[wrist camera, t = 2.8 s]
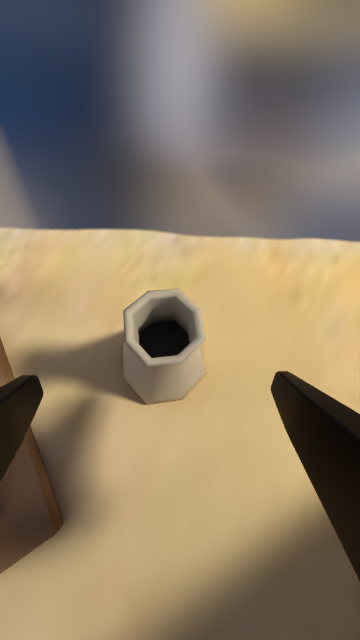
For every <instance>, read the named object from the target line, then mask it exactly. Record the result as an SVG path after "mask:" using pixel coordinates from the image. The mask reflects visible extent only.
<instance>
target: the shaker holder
mask: <svg viewBox="0 0 360 640" xmlns="http://www.w3.org/2000/svg"><path fill="white" fill-rule="evenodd" d="M12 380H14V376H13V373H12V371H11V368H10V365H9V362H8V359H7V356H6V353H5V350H4V347H3V344H2V341H1V338H0V387H1V386H3V385H5V384H7V383H9V382H10V381H12ZM63 523H64V522H63V519H62V516H61V513H60V510H59V507H58V505H57V502H56V499H55V496H54V493H53V490H52V487H51V484H50V481H49V478H48V475H47V473H46V470H45V467H44V464H43V461H42V458H41V455H40V452H39V449H38V446H37V443H36V440H35V438H34V435H33V432H32V429H31V426H30V427H29V429H28V432H27V434H26V436H25V438H24V440H23V442H22V444H21V446H20V448H19V450H18V451H17V453H16V455H15V457H14V459H13V460H12V462H11V464H10V466H9V468H8V469H7V471H6V473H5V475H4V477H3V478H2V480H1V482H0V574H1V573H2V572H3V571H5V570H6V569H8V568H9V567H10V566H12V565H13V564H15V563H16V562H17V561H19V560H20V559H21V558H23V557H24V556H26V555H27V554H28V553H30V552H31V551H33V550H34V549H35V548H37V547H38V546H40V545H41V544H42V543H44V542H45V541H47V540H48V539H49V538H51V537H52V536H53V535H55V534H56V533H57V532H58V530H59V529H60V527H61V526H62V525H63Z"/></svg>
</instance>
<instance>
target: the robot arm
mask: <svg viewBox="0 0 360 640" xmlns="http://www.w3.org/2000/svg"><path fill="white" fill-rule="evenodd" d="M271 392H272V395H273V398H274V401H275V403H276V406H277V409H278V411H279V414H280V416H281V419H282V422H283V424H284V427H285V429H286V432H287V434H288V436H289V438H290V440H291V442H292V444H293V446H294V448H295V450H296V452H297V454H298V456H299V458H300V460H301V462H302V464H303V466H304V469H305V471H306V473H307V475H308V477H309V479H310V481H311V483H312V485H313V487H314V489H315V491H316V493H317V495H318V497H319V499H320V501H321V503H322V505H323V507H324V509H325V511H326V513H327V515H328V517H329V519H330V521H331V524H332V526H333V528H334V530H335V532H336V534H337V536H338V538H339V540H340V542H341V544H342V546H343V548H344V550H345V552H346V554H347V556H348V558H349V560H350V562H351V564H352V566H353V568H354V570H355V572H356V574H357V576H358V578H359V581H360V414H359V413H357V412H355V411H354V410H352V409H350V408H349V407H347V406H345V405H344V404H342V403H340V402H339V401H337V400H335V399H334V398H332V397H330V396H329V395H327V394H325V393H323V392H322V391H320V390H318V389H317V388H315V387H313V386H312V385H310V384H308V383H307V382H305V381H303V380H302V379H300V378H298V377H297V376H295V375H293V374H291V373H290V372H288V371H278V372H276V374H275V376H274V379H273V382H272V385H271ZM42 397H43V389H42V387H41V384H40V381H39V379H38V377H37V376H36V375H22V376H20V377H18V378H16V379H14V380H12V381H10V382H9V383H7V384H5V385H3V386H1V387H0V482H1V480H2V478H3V477H4V475H5V473H6V471H7V469H8V468H9V466H10V464H11V462H12V460H13V459H14V457H15V455H16V453H17V451H18V450H19V448H20V446H21V444H22V442H23V440H24V438H25V436H26V434H27V432H28V429H29V427H30V425H31V423H32V420H33V418H34V416H35V413H36V411H37V409H38V407H39V404H40V402H41V400H42Z"/></svg>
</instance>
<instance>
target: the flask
mask: <svg viewBox="0 0 360 640" xmlns="http://www.w3.org/2000/svg"><path fill="white" fill-rule="evenodd" d="M123 314H124V336H125V342H124V343H122V352H123V376H124V379H125V380H126V381H127V383H128V384H129V385H130V386H131V387H132V388H133V389H134V391H135V392H136V393H137V394H138V395H139V396H140V397H141V399H142V400H143V401H144V402H145V403H146V404H147V405H150V404H156V403H163V402H170V401H176V400H183V399H184V397H185V396H186V395H187V394H188V393H189V392H190V391H191V390H192V389H193V388H194V387H195V386H196V385H197V384H198V382H199V381H200V380H201V379H202V378H203V377H204V376H205V375H206V369H205V363H204V357H203V351H202V346H201V345H202V344H203V343H204V342H205V340H206V338H205V333H204V327H203V321H202V316H201V310H200V309H199V308H198V307H197V306H196V305H195V304H194V303H193V302H192V301H191V300H190V299H189V298H188V297H187V296H186V295H185V294H184V293H183V292H182V291H181V290H179V289H168V290H155V291H147V292H146V293H145V294H144V295H142V296H141V297H140V298H139V299H137V300H136V301H135V302H134V303H132V304H131V305H130V306H129V307H127V308H126V309H125V310H124V311H123Z"/></svg>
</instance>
